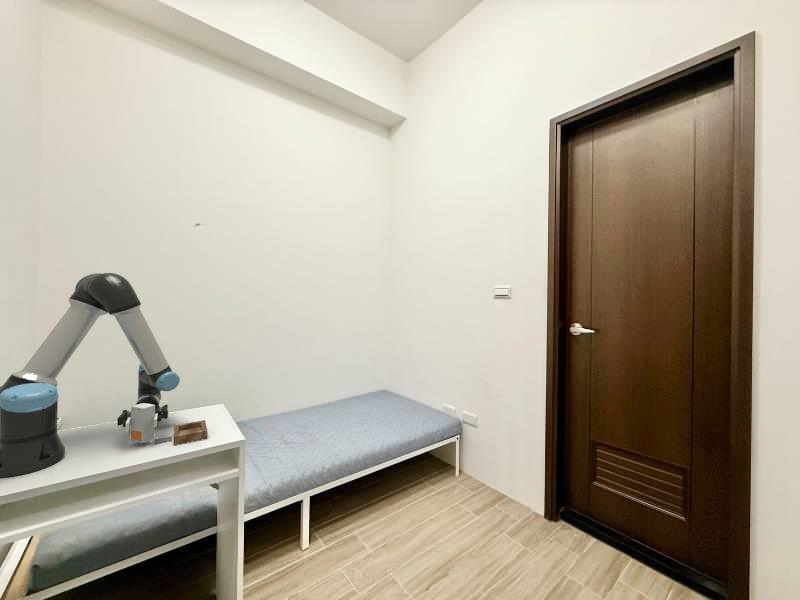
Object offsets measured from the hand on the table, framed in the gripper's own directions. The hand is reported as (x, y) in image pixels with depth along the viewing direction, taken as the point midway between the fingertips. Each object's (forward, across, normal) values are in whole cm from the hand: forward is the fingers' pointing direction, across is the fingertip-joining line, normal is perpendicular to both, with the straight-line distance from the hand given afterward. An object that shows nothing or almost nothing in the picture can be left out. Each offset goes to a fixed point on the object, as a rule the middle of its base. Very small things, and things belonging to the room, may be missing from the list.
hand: (141, 425), depth 108 cm
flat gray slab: (-4, -6, -8) cm, 11 cm away
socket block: (-4, -14, -8) cm, 17 cm away
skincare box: (-5, 0, -7) cm, 8 cm away
